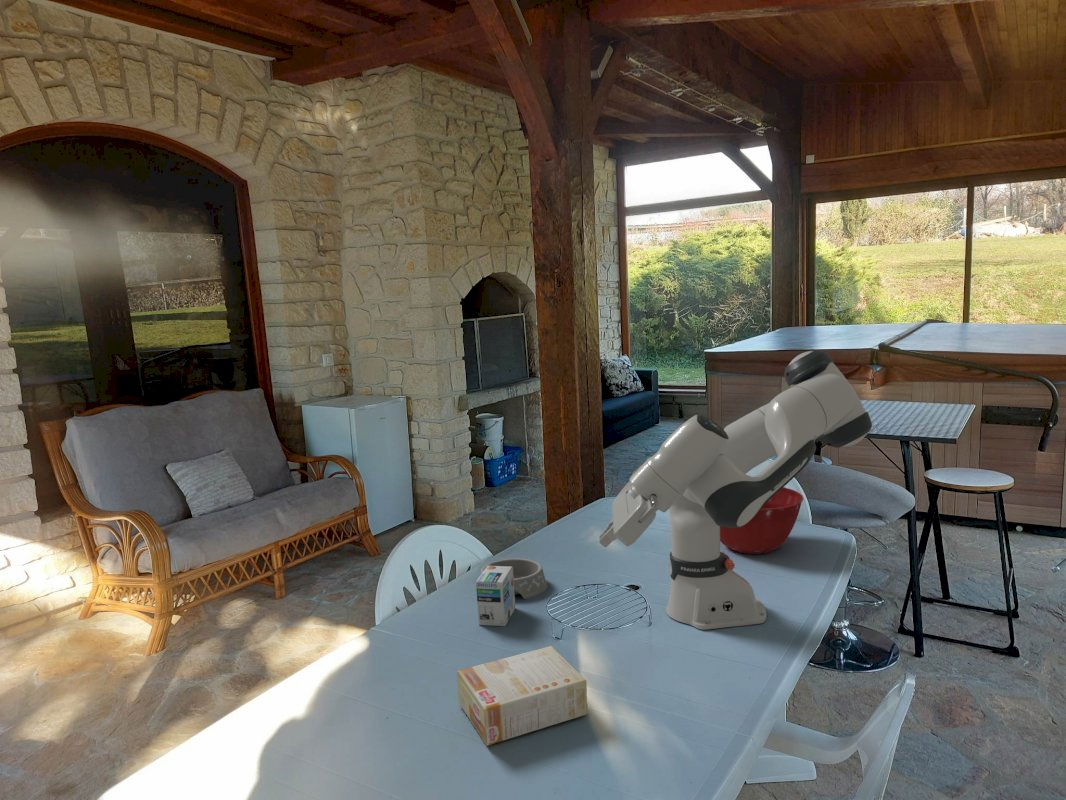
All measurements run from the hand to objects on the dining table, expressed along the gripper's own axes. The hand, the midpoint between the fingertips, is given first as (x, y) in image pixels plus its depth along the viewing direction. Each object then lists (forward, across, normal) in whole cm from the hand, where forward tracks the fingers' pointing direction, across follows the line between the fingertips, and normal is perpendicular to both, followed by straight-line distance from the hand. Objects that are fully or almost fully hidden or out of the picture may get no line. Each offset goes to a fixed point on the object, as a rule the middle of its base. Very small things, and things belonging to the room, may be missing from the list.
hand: (601, 542), depth 136 cm
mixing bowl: (-9, +79, -50) cm, 95 cm away
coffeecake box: (+23, -2, -13) cm, 27 cm away
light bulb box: (+39, +34, -2) cm, 52 cm away
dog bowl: (+38, +52, -3) cm, 65 cm away
